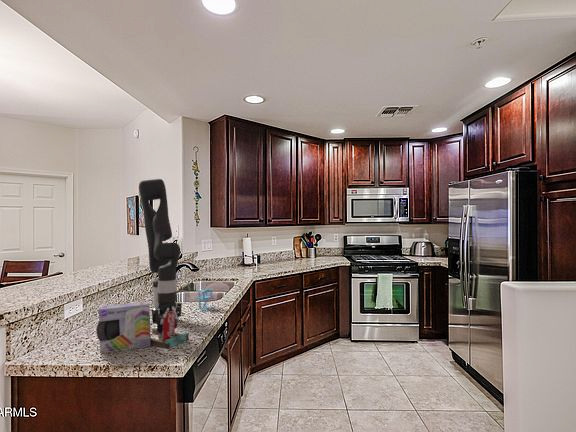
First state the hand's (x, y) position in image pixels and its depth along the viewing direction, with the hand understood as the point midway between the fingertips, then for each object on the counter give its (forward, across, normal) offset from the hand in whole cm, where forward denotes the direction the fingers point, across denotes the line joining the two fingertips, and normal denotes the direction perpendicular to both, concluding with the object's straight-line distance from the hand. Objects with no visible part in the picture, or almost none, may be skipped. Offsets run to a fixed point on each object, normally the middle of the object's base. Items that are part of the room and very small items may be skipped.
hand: (167, 330), depth 145 cm
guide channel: (+5, 0, -4) cm, 6 cm away
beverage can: (+4, +1, +1) cm, 4 cm away
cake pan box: (+5, +13, -9) cm, 17 cm away
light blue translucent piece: (+5, -48, -24) cm, 54 cm away
